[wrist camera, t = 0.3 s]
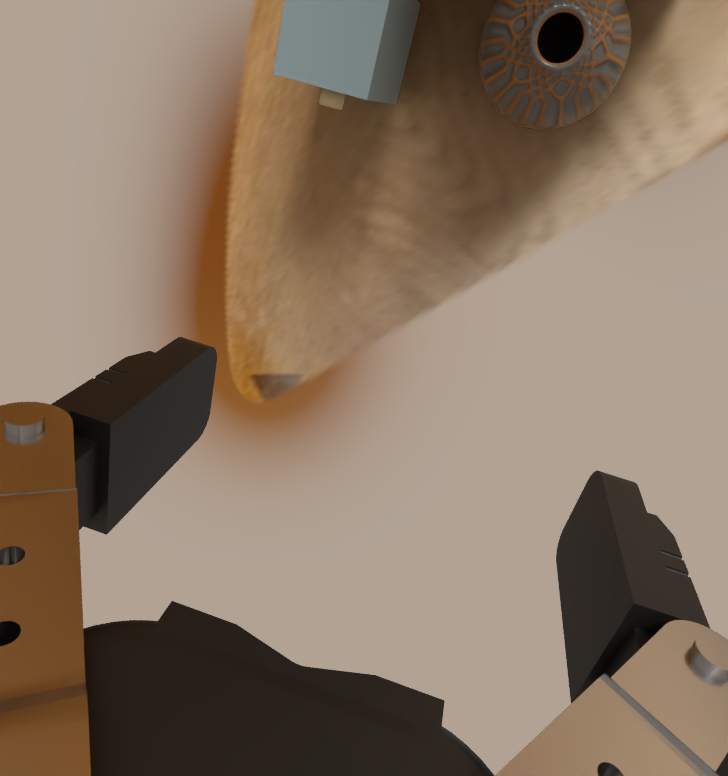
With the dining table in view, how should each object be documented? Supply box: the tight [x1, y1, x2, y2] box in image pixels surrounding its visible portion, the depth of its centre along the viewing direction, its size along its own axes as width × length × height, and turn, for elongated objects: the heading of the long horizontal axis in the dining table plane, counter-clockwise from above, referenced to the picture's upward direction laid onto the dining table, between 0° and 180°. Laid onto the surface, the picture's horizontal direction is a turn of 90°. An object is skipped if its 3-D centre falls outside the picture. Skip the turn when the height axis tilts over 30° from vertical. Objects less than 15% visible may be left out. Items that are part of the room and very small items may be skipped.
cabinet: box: [273, 0, 421, 110], centre depth 29 cm, size 9×5×8 cm, turn 164°
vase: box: [479, 0, 632, 130], centre depth 28 cm, size 7×7×9 cm
